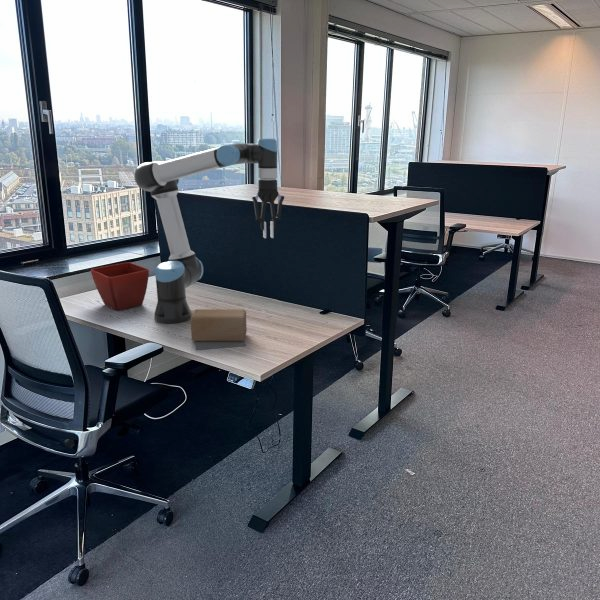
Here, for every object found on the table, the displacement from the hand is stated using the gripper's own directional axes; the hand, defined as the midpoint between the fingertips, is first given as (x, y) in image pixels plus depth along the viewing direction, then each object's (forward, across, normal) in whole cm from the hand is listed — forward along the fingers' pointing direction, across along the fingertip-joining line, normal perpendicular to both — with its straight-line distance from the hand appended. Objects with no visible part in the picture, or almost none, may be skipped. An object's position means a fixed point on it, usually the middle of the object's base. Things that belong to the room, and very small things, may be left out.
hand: (268, 237), depth 218 cm
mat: (+34, +24, +24) cm, 48 cm away
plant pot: (+35, +62, -31) cm, 77 cm away
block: (+29, +14, +23) cm, 39 cm away
